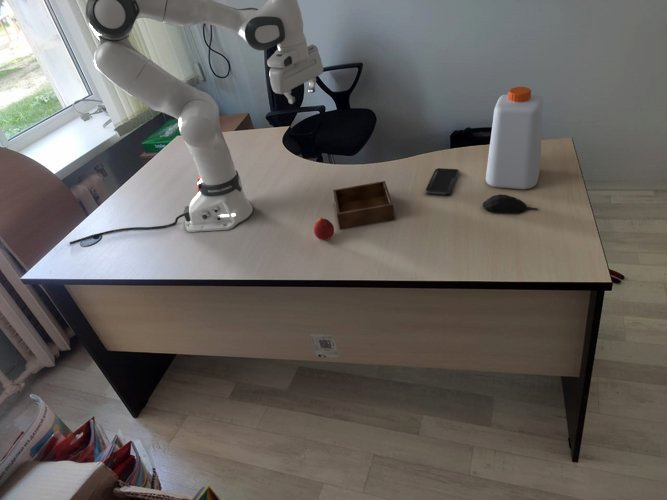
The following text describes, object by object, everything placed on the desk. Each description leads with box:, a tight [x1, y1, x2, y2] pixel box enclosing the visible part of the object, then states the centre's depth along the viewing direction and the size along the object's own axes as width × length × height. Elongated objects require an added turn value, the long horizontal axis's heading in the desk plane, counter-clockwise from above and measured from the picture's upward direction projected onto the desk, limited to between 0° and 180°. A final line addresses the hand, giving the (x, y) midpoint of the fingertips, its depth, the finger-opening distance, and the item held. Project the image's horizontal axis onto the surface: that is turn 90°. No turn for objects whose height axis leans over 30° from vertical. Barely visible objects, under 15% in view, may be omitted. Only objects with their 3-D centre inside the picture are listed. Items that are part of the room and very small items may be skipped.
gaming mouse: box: [482, 193, 538, 214], centre depth 136 cm, size 6×15×4 cm, turn 70°
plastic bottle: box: [485, 86, 544, 190], centre depth 141 cm, size 15×15×28 cm
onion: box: [313, 216, 335, 242], centre depth 136 cm, size 6×6×8 cm
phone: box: [425, 167, 460, 197], centre depth 153 cm, size 8×1×15 cm
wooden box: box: [332, 180, 396, 230], centre depth 146 cm, size 17×15×5 cm
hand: (302, 97), depth 153 cm, fingers open, 8 cm apart
